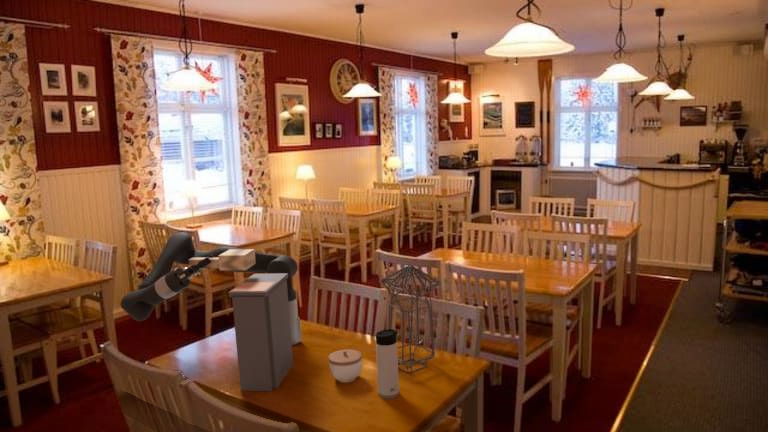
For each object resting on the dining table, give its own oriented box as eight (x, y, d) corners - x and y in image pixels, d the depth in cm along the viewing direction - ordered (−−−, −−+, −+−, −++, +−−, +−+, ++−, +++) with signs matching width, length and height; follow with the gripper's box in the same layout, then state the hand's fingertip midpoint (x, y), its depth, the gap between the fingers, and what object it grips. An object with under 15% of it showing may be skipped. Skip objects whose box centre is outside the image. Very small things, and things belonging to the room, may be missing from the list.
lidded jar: (337, 388, 180) (336, 360, 179) (324, 376, 190) (323, 349, 188) (368, 380, 185) (367, 352, 184) (354, 368, 194) (353, 342, 193)
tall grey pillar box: (237, 390, 182) (228, 291, 177) (261, 362, 204) (254, 273, 199) (274, 391, 181) (266, 291, 175) (294, 362, 202) (288, 272, 197)
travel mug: (398, 399, 171) (395, 335, 168) (376, 398, 172) (373, 334, 169) (402, 390, 177) (399, 327, 174) (380, 389, 178) (377, 327, 175)
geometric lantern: (415, 353, 205) (414, 257, 199) (444, 369, 192) (443, 266, 186) (378, 364, 196) (375, 264, 190) (405, 381, 183) (403, 274, 177)
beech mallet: (185, 270, 191) (183, 255, 190) (197, 263, 200) (196, 249, 199) (245, 270, 188) (244, 255, 187) (255, 263, 197) (254, 249, 196)
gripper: (155, 279, 190) (195, 253, 187) (176, 269, 204) (214, 244, 201) (168, 298, 191) (208, 273, 187) (188, 286, 205) (226, 262, 201)
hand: (211, 258), depth 194 cm, fingers closed on beech mallet, 3 cm apart
